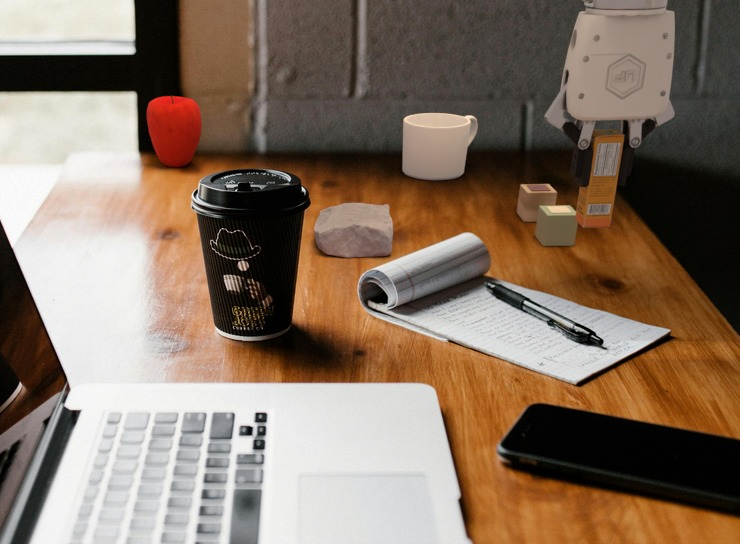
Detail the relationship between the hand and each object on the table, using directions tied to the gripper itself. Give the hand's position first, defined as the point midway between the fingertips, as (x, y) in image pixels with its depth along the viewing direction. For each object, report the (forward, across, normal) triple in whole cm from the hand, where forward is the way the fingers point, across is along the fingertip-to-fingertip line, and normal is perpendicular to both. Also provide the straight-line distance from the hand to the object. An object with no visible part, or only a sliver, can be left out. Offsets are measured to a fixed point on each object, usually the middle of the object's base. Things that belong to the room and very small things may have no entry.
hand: (599, 181), depth 94 cm
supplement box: (+5, 0, 0) cm, 5 cm away
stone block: (+11, -26, +14) cm, 31 cm away
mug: (+11, -9, +46) cm, 48 cm away
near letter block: (+11, 0, +13) cm, 17 cm away
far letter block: (+11, 0, +22) cm, 25 cm away
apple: (+9, -52, +52) cm, 74 cm away
